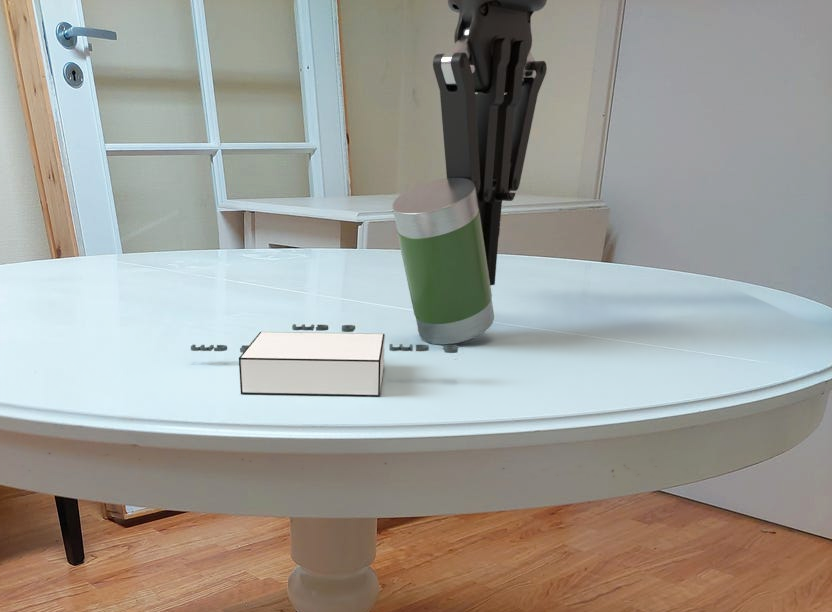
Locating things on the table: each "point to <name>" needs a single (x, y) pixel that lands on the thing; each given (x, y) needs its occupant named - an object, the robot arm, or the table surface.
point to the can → (445, 259)
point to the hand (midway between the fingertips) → (477, 283)
